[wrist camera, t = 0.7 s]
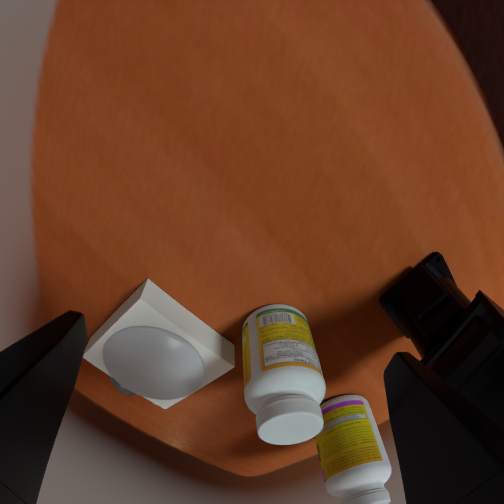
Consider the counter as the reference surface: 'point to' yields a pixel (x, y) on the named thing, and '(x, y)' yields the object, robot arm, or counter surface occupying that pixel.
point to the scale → (158, 348)
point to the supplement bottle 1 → (282, 375)
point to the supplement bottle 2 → (352, 452)
